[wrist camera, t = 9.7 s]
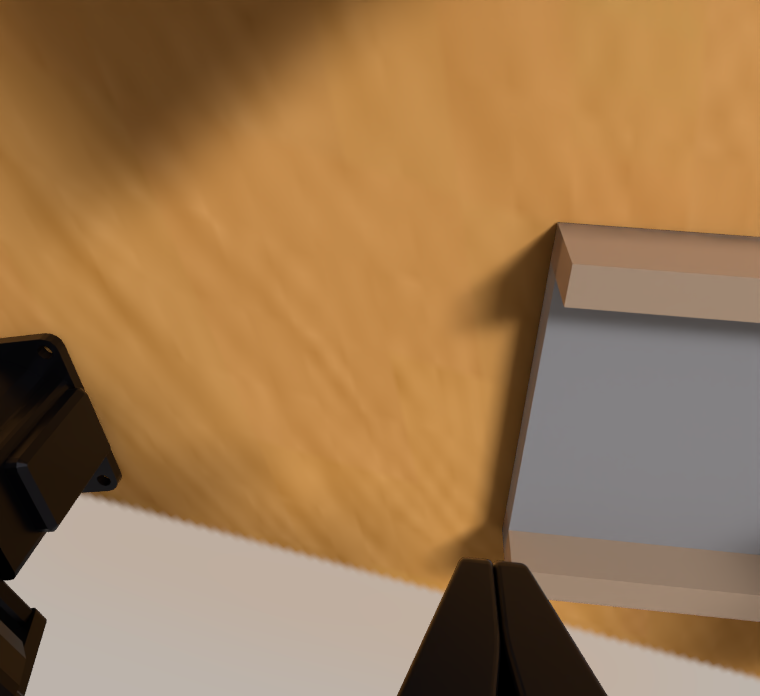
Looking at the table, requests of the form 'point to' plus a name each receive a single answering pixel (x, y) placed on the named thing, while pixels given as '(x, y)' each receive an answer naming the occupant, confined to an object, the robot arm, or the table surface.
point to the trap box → (643, 425)
